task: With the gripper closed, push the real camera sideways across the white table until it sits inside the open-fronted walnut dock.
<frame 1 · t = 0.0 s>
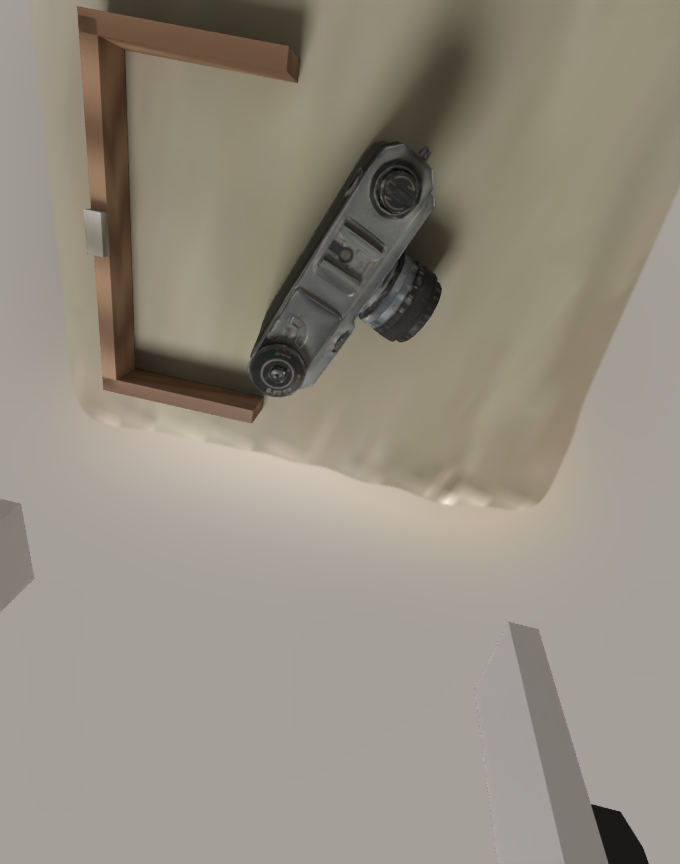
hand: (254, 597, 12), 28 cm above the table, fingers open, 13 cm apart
dock: (203, 247, 36), on the table
camera: (364, 279, 36), on the table
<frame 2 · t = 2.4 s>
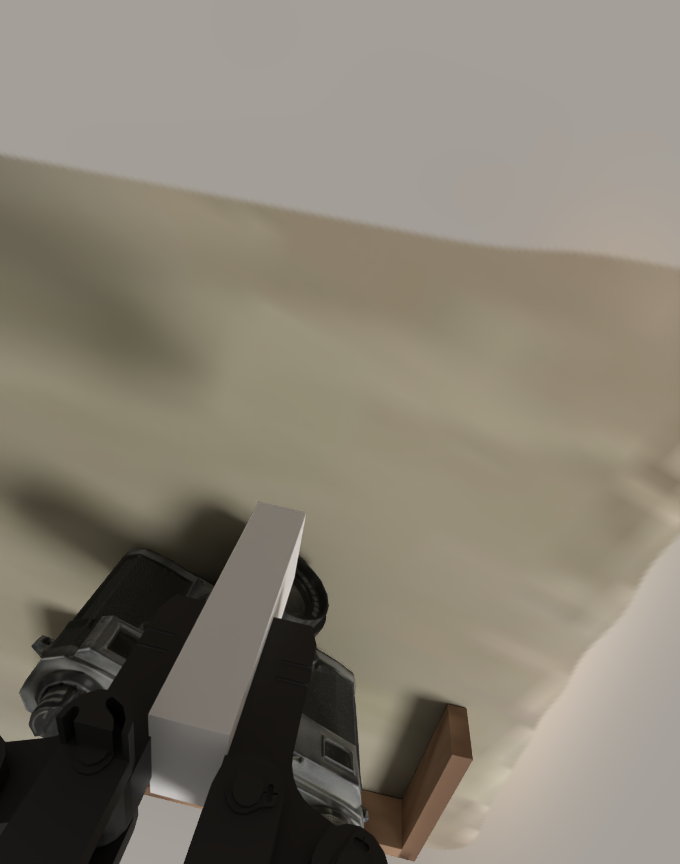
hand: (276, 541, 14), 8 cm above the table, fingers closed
dock: (261, 717, 32), on the table
camera: (270, 594, 27), on the table
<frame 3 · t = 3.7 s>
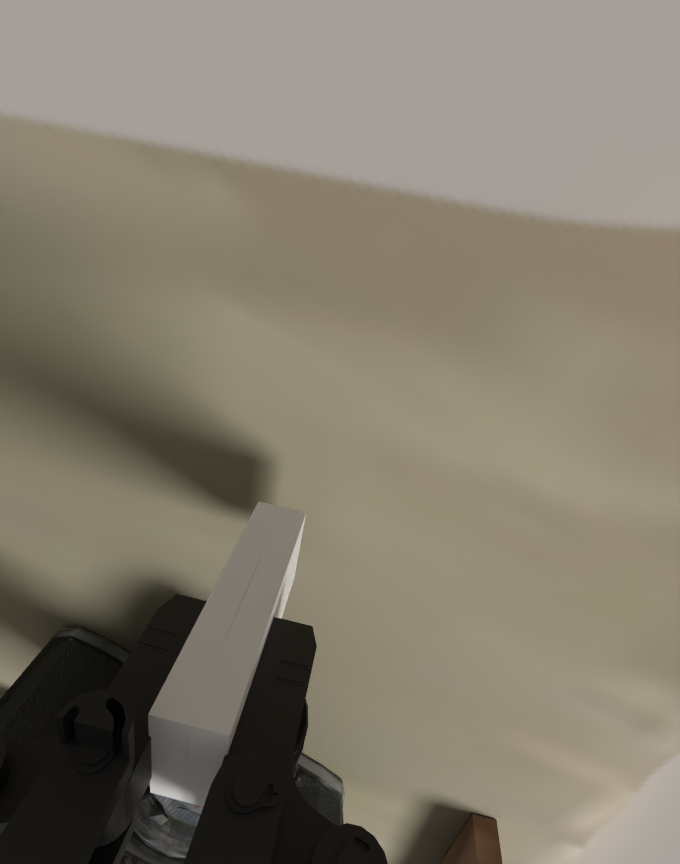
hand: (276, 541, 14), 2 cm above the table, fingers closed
dock: (240, 812, 26), on the table
camera: (239, 686, 21), on the table
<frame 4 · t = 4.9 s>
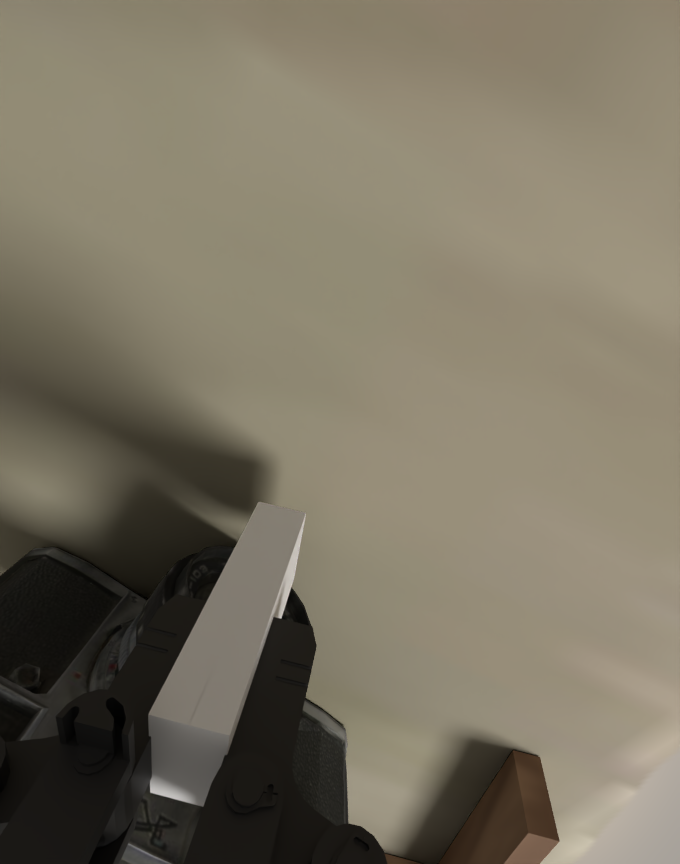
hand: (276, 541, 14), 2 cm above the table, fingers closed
dock: (248, 756, 23), on the table
camera: (234, 618, 19), on the table, touching gripper
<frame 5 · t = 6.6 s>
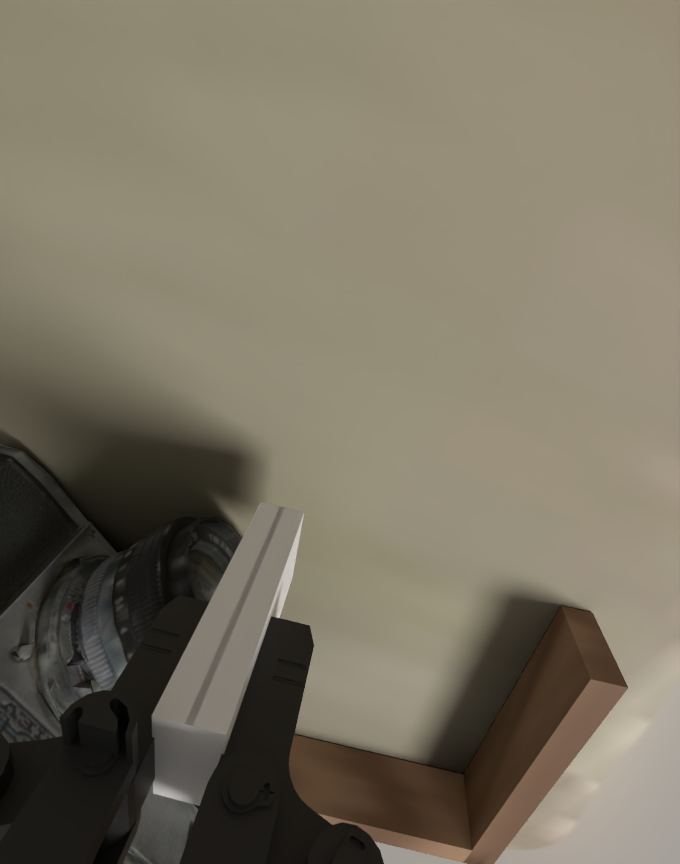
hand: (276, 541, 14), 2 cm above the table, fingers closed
dock: (249, 642, 20), on the table
camera: (182, 580, 19), on the table, touching dock, gripper
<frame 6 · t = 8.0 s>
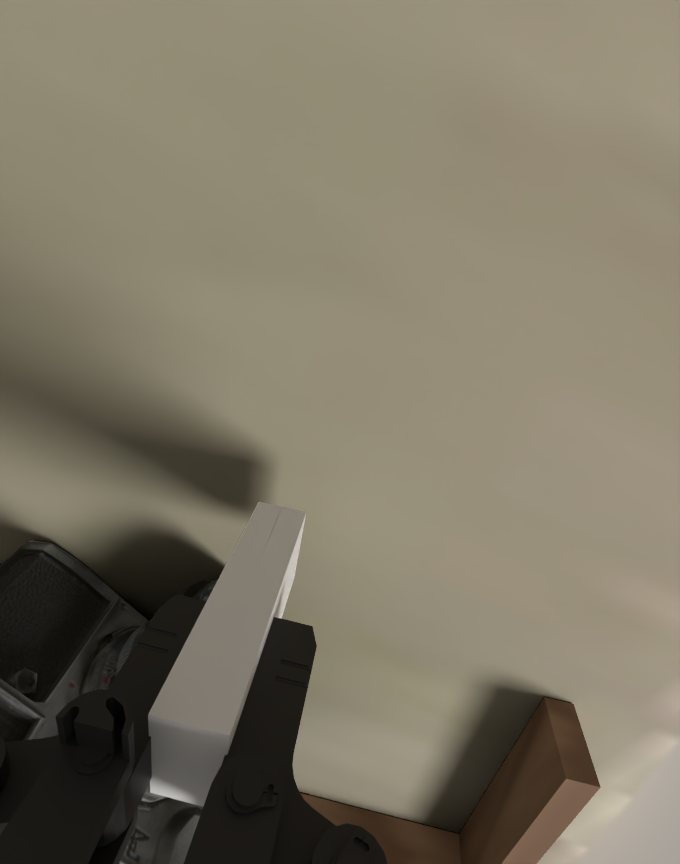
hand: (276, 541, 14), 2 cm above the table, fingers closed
dock: (259, 714, 22), on the table
camera: (211, 635, 20), on the table
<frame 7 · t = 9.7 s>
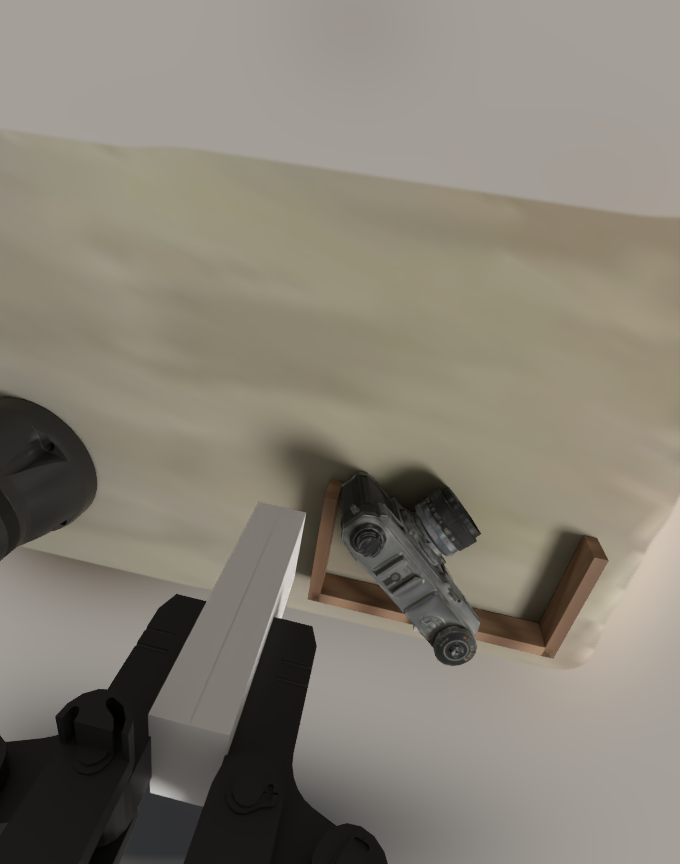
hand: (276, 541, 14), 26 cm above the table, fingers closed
dock: (444, 555, 46), on the table
camera: (426, 519, 45), on the table
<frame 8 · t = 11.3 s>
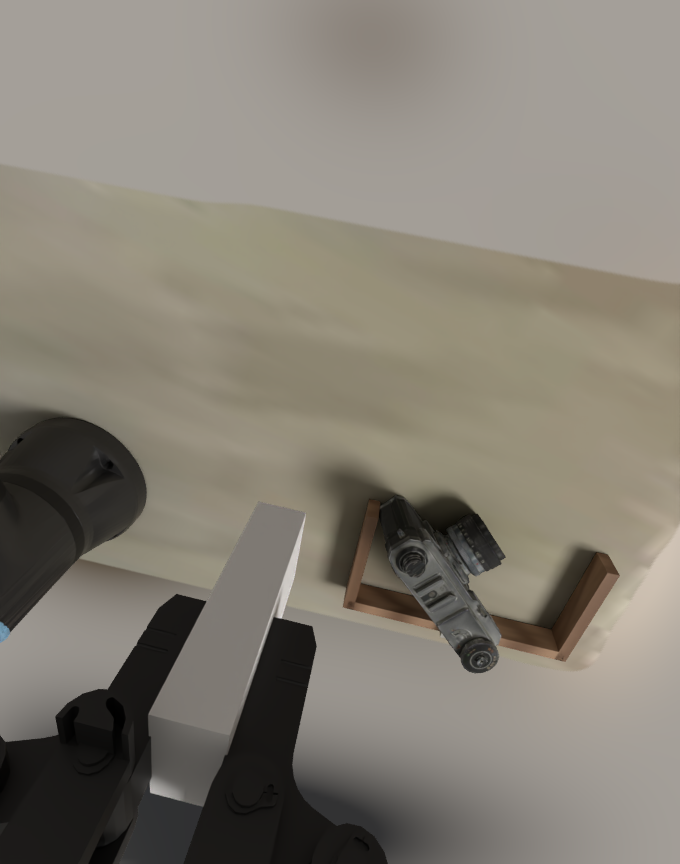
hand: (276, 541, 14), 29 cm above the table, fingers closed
dock: (469, 568, 51), on the table
camera: (452, 539, 50), on the table
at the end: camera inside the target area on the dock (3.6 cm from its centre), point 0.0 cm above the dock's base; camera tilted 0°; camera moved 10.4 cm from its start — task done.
